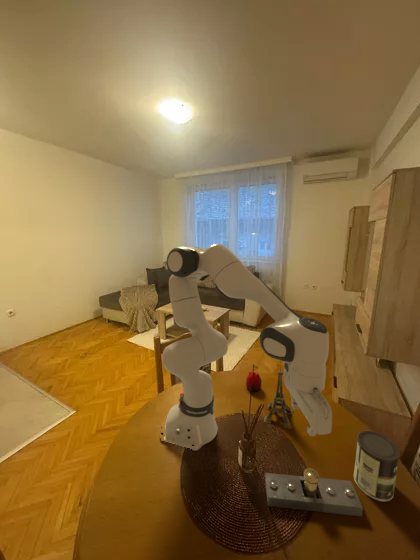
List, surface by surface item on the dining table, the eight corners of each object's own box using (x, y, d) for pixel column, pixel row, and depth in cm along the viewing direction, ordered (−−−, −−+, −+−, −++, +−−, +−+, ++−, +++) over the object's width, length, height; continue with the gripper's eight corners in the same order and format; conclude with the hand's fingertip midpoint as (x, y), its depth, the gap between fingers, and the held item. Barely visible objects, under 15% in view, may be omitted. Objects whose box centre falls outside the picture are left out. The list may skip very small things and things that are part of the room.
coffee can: (391, 477, 74) (397, 438, 71) (395, 509, 65) (402, 467, 63) (353, 461, 79) (357, 425, 77) (352, 489, 71) (357, 449, 68)
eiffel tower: (291, 429, 93) (293, 371, 88) (263, 422, 97) (265, 366, 92) (292, 410, 103) (295, 357, 98) (267, 404, 106) (269, 353, 102)
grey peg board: (268, 505, 67) (268, 495, 66) (265, 480, 74) (265, 471, 73) (361, 516, 64) (363, 505, 63) (349, 489, 71) (351, 479, 70)
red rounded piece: (262, 386, 119) (262, 358, 116) (260, 394, 113) (260, 366, 110) (247, 383, 122) (247, 356, 119) (244, 391, 116) (244, 363, 113)
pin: (301, 500, 68) (303, 477, 67) (303, 487, 72) (305, 465, 70) (316, 507, 66) (318, 484, 65) (318, 494, 70) (319, 471, 68)
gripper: (342, 404, 55) (335, 452, 58) (300, 356, 75) (296, 394, 78) (316, 406, 54) (311, 455, 57) (281, 357, 74) (278, 396, 77)
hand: (302, 419), depth 68 cm, fingers open, 8 cm apart
